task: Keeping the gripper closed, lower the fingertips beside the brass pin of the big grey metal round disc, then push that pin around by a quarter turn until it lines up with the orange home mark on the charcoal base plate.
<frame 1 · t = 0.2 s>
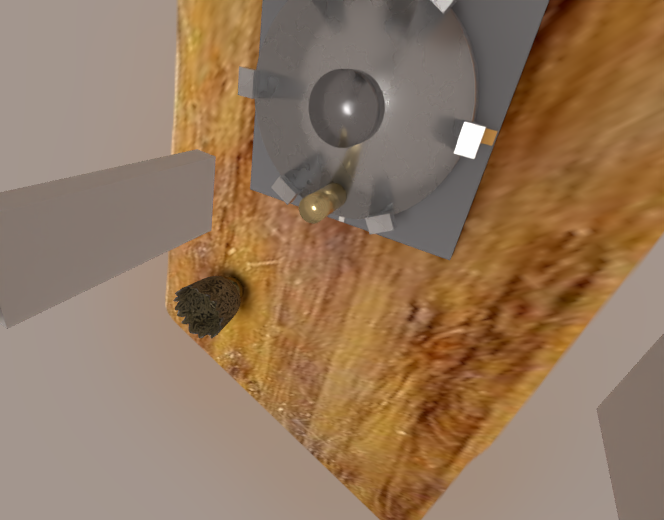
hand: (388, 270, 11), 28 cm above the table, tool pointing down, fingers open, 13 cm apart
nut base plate: (370, 104, 37), on the table
grey metal round disc: (346, 108, 32), point 6 cm above the table, hinge at 0.0°
cup: (236, 285, 55), on the table
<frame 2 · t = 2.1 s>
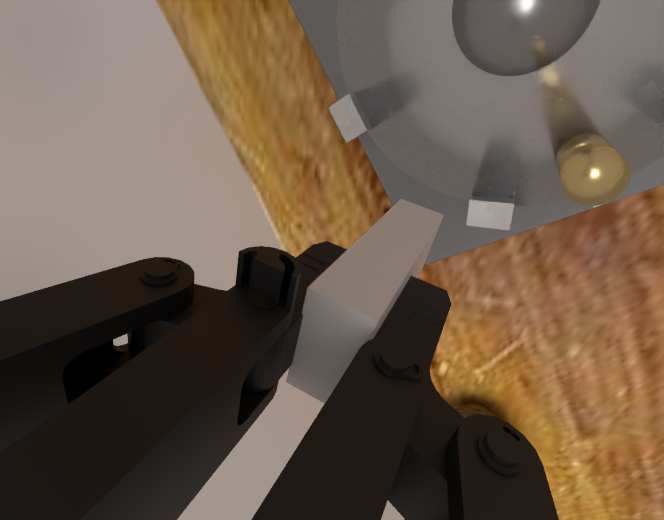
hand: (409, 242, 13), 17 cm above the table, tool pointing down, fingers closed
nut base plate: (524, 18, 23), on the table
grey metal round disc: (522, 4, 18), point 6 cm above the table, hinge at 0.0°
cup: (477, 412, 36), on the table
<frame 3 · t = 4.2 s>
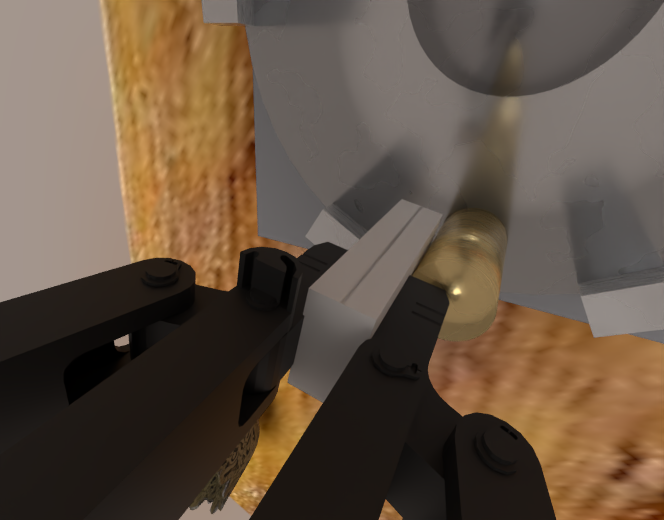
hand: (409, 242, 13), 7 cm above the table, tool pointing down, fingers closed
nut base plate: (532, 4, 15), on the table
cup: (250, 393, 33), on the table
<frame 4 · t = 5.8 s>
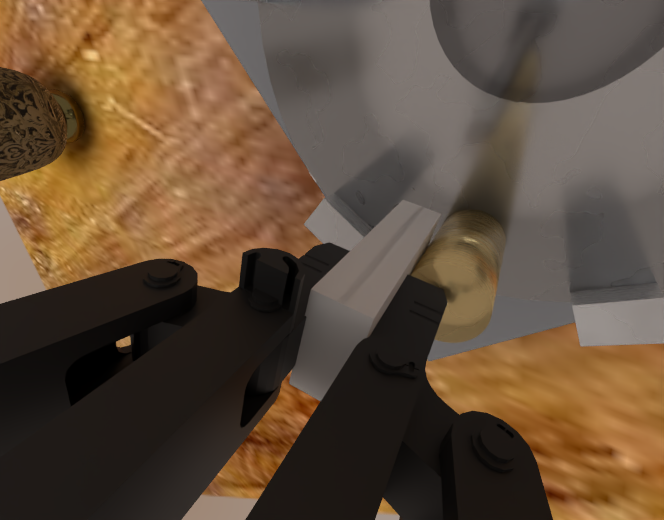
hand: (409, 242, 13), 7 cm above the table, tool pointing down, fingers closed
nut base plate: (552, 6, 14), on the table
cup: (74, 115, 29), on the table
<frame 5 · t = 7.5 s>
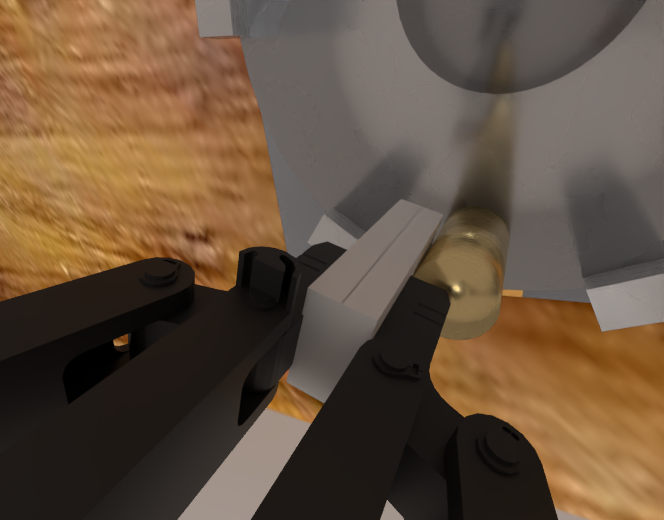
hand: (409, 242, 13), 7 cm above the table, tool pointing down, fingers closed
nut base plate: (523, 2, 15), on the table
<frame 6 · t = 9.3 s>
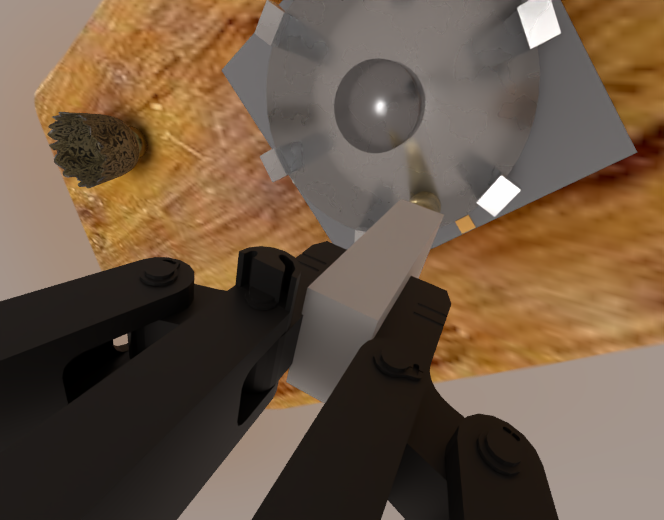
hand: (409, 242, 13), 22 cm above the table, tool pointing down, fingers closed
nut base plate: (400, 103, 32), on the table
grey metal round disc: (379, 107, 27), point 6 cm above the table, hinge at 81.7°
cup: (139, 141, 45), on the table
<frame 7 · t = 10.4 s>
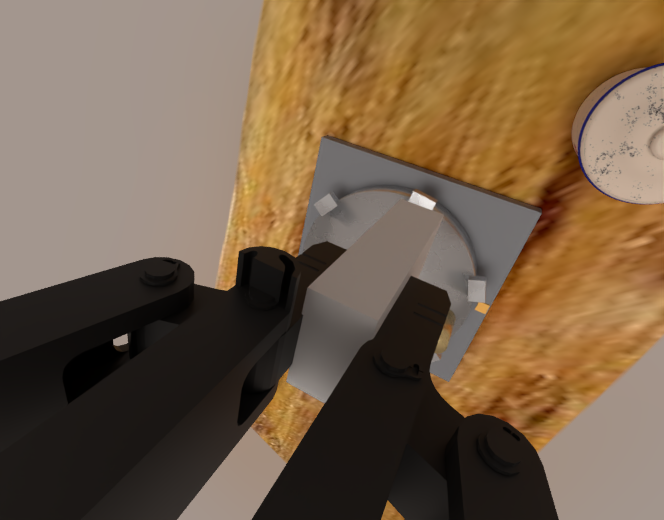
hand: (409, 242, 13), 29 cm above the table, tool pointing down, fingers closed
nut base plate: (393, 262, 47), on the table
grey metal round disc: (377, 283, 42), point 6 cm above the table, hinge at 81.7°
teacup with lid: (649, 130, 32), on the table
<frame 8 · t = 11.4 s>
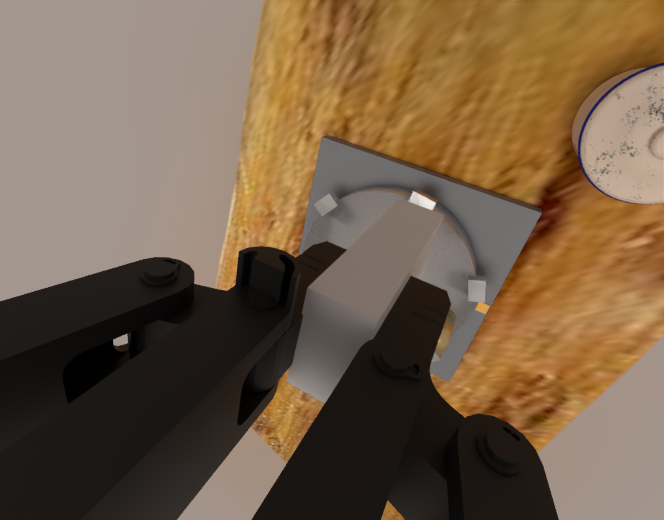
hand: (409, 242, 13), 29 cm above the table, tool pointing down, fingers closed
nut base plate: (393, 262, 47), on the table
grey metal round disc: (377, 283, 42), point 6 cm above the table, hinge at 81.7°
teacup with lid: (649, 130, 32), on the table
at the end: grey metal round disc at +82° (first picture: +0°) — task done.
